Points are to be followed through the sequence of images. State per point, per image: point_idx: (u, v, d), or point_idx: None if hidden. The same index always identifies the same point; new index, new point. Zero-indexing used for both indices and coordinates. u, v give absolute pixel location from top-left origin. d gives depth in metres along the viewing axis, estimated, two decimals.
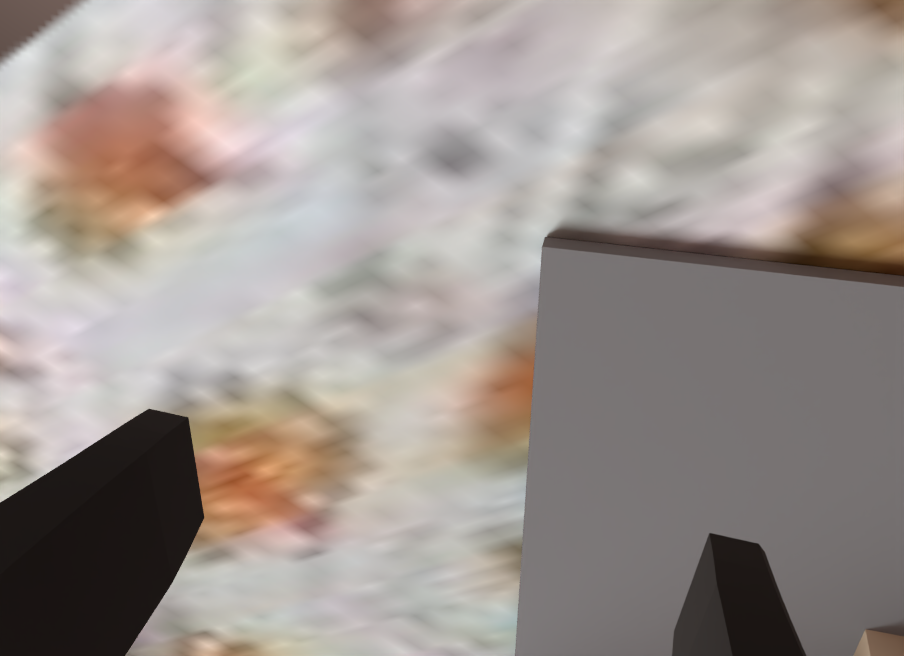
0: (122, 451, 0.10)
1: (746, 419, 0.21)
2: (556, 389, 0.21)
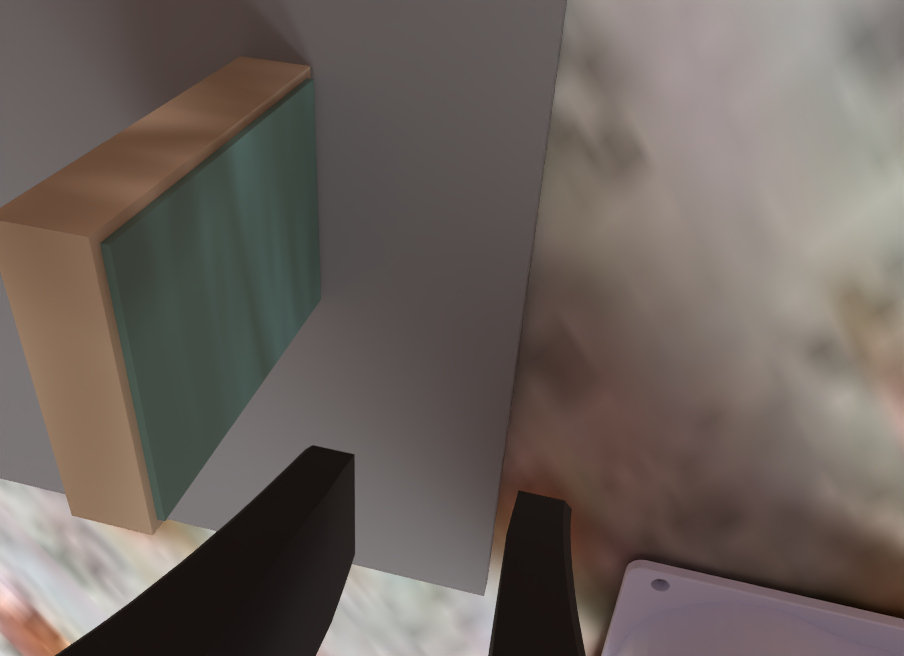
0: (303, 493, 0.10)
1: None
2: None
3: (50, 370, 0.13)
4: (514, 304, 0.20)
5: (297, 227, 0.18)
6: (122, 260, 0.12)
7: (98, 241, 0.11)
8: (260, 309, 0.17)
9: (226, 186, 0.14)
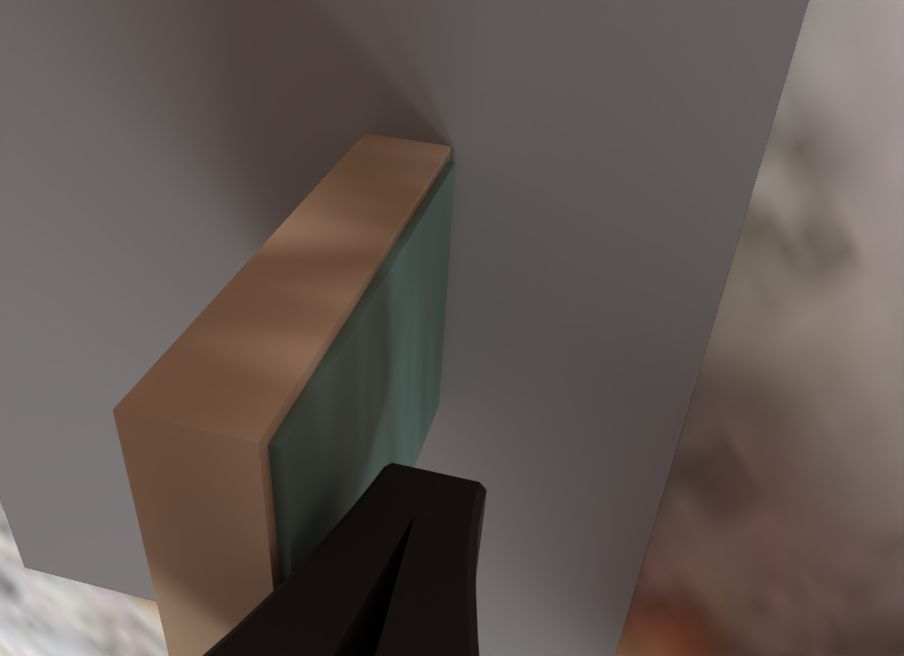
0: (391, 513, 0.10)
1: (117, 472, 0.22)
2: (141, 585, 0.25)
3: (180, 581, 0.10)
4: (674, 416, 0.17)
5: (430, 336, 0.15)
6: (291, 458, 0.09)
7: (265, 440, 0.08)
8: (396, 444, 0.14)
9: (382, 318, 0.11)
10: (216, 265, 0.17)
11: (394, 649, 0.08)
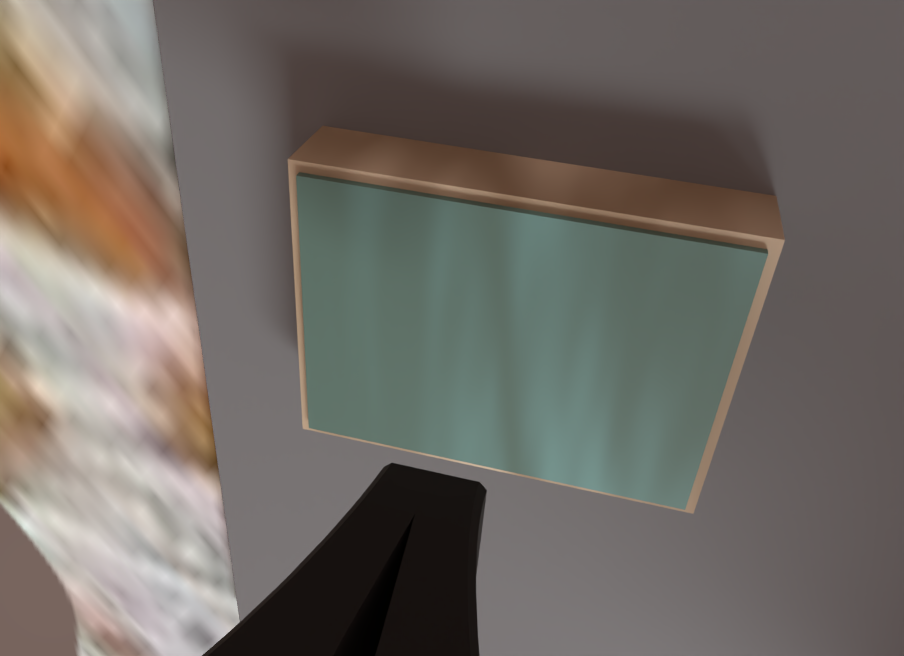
0: (391, 513, 0.10)
1: None
2: None
3: None
4: None
5: (647, 388, 0.14)
6: (307, 196, 0.14)
7: (303, 171, 0.14)
8: (524, 402, 0.15)
9: (493, 243, 0.13)
10: None
11: (394, 649, 0.08)
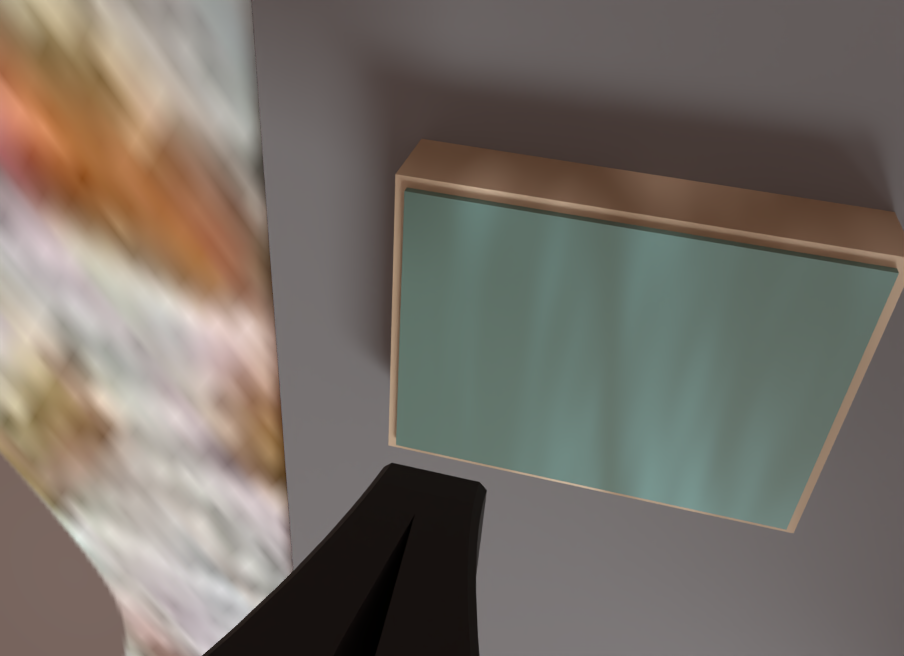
0: (391, 513, 0.10)
1: None
2: None
3: None
4: None
5: (758, 408, 0.14)
6: (415, 212, 0.13)
7: (411, 187, 0.13)
8: (626, 421, 0.15)
9: (607, 261, 0.13)
10: None
11: (394, 649, 0.08)
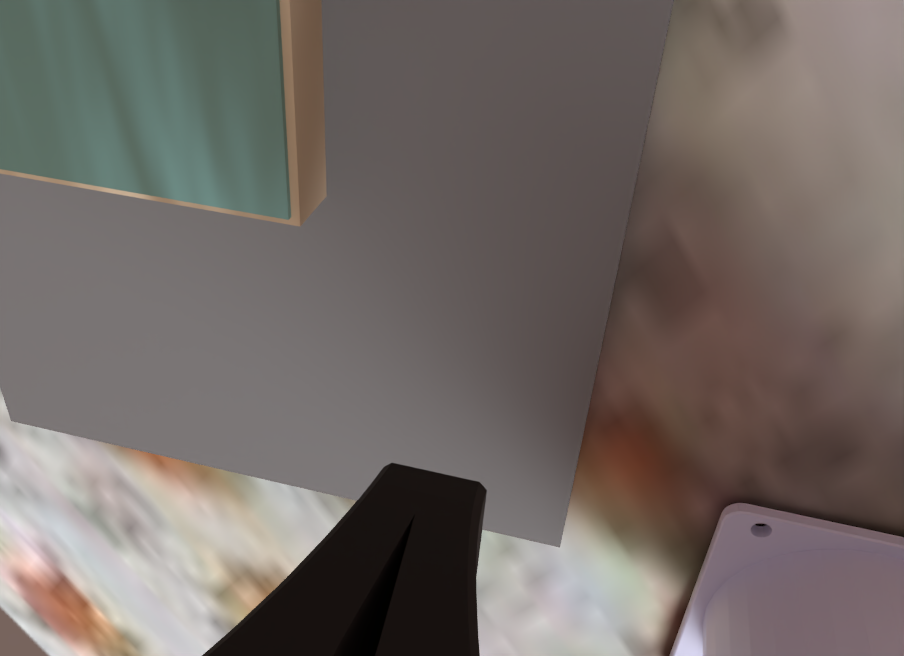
0: (391, 513, 0.10)
1: (98, 306, 0.23)
2: (123, 433, 0.26)
3: None
4: (621, 204, 0.18)
5: (224, 90, 0.16)
6: None
7: None
8: (136, 117, 0.17)
9: None
10: None
11: (394, 649, 0.08)
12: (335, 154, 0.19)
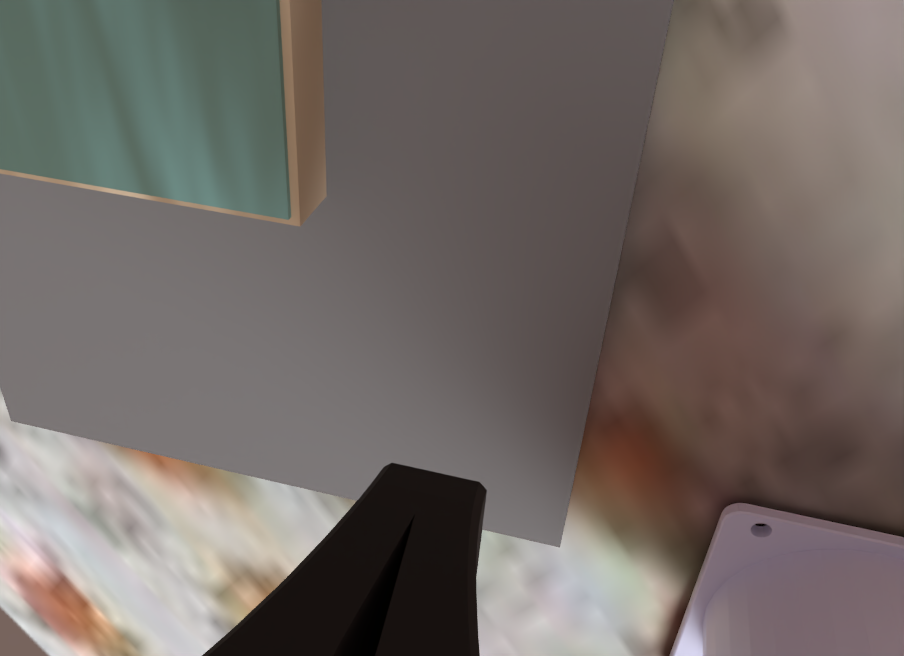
0: (391, 513, 0.10)
1: (98, 306, 0.23)
2: (123, 433, 0.26)
3: None
4: (621, 204, 0.18)
5: (224, 90, 0.16)
6: None
7: None
8: (136, 117, 0.17)
9: None
10: None
11: (394, 649, 0.08)
12: (335, 154, 0.19)
